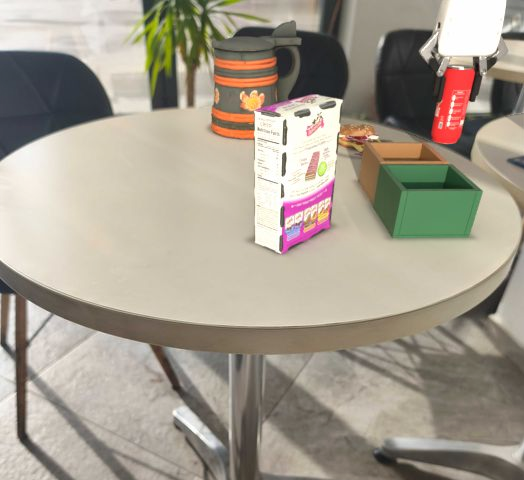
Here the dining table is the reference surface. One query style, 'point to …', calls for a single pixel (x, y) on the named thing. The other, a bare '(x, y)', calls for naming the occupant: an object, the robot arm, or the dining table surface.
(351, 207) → the dining table surface
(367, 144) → the paper bin
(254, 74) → the beer stein
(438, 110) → the beverage can
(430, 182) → the bin
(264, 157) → the candy bar box
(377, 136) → the hamburger
